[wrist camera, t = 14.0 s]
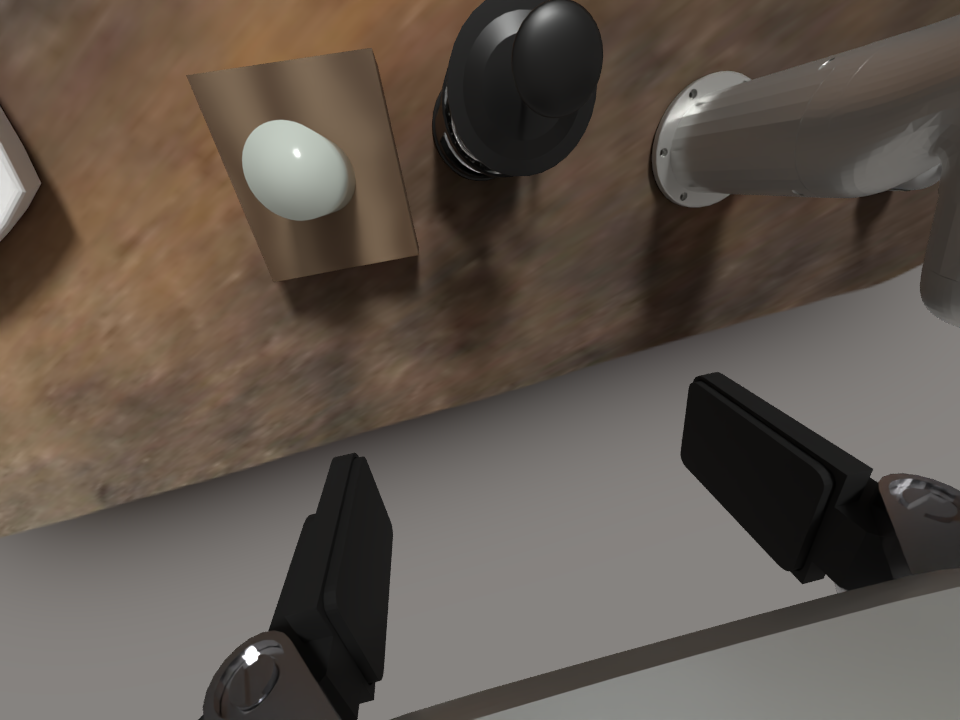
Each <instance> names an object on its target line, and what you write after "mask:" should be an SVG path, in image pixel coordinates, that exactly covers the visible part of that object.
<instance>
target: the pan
mask: <svg viewBox="0 0 960 720" xmlns="http://www.w3.org/2000/svg"><path fill="white" fill-rule="evenodd" d="M40 185H41V182H40V179H39V177H38V175H37V173H36V171H35V169H34V167H33V165H32V163H31V161H30V159H29V157H28V154H27V152H26V150H25V148H24V146H23V144H22V143H21V141H20V139H19V137H18V136H17V134H16V132H15V131H14V129H13V127H12V126H11V124H10V122H9V120H8V119H7V117H6V115H5V114H4V112H3V110H2V108H1V107H0V241H1V240H2V239H3V238H4V237H5V236H6V235H7V234H8V233H9V232H10V230H11V229H12V228H13V226H14V225H15V224H16V223H17V221H18V220H19V219H20V218H21V216H22V215H23V214H24V212H25V211H26V210H27V209H28V207H29V205H30V203H31V201H32V199H33V198H34V196H35V194H36V192H37V190H38V188H39V186H40Z"/></svg>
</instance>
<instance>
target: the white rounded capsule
mask: <svg viewBox="0 0 960 720" xmlns="http://www.w3.org/2000/svg"><path fill="white" fill-rule="evenodd" d="M242 166H243V172H244V175H245V179H246V181H247V183H248V186H249V187H250V189H251V191H252V192H253V194H254V195H255V197H256V198H257V199H258V200H259V201H260V202H261V203H262V204H263V205H264V206H265V207H266V208H268V209H269V210H270V211H272V212H273V213H275V214H277V215H279V216H281V217H284V218H287V219H291V220H297V221H304V220H311V219H315V218H318V217H321V216H324V215H327V214H330V213H333V212H336V211H339V210H341V209H342V208H344V207H345V206H346V205H347V204H348V203H349V201H350V200H351V198H352V196H353V194H354V191H355V183H356V180H355V172H354V169H353V166H352V164H351V161H350V160H349V158H348V156H347V155H346V154H345V152H344V151H343V150H342V149H341V148H340V147H339V146H338V145H336V144H335V143H333V142H332V141H330V140H328V139H327V138H325V137H323V136H321V135H320V134H318V133H316V132H314V131H313V130H311V129H309V128H307V127H305V126H304V125H302V124H299V123H296V122H293V121H289V120H274V121H269V122H266V123H263V124H262V125H260V126H258V127H257V128H256V129H255V130H253V132H252V133H251V134H250V135H249V137H248V138H247V140H246V143H245V145H244V149H243V154H242Z"/></svg>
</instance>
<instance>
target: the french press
mask: <svg viewBox="0 0 960 720" xmlns="http://www.w3.org/2000/svg"><path fill="white" fill-rule="evenodd" d="M602 62H603V45H602V40H601V35H600V32H599V29H598V27H597V24H596V22H595V21H594V19H593V17H592V16H591V14H590V13H589V12H588V11H587V10H586V9H585V8H584V7H583V6H581V5H580V4H578V3H576V2H574V1H571V0H485V1H484V2H483V3H482V4H481V5H480V6H479V7H477V8H476V9H475V10H474V11H473V12H472V14H471V15H470V16H469V18H468V19H467V21H466V22H465V23H464V25H463V26H462V28H461V30H460V32H459V34H458V36H457V39H456V41H455V43H454V46H453V50H452V53H451V57H450V61H449V65H448V68H447V72H446V76H445V79H444V83H443V87H442V90H441V92H440V94H439V96H438V98H437V100H436V103H435V107H434V111H433V119H432V128H433V136H434V140H435V144H436V147H437V149H438V152H439V154H440V156H441V157H442V159H443V160H444V162H445V163H446V164H447V165H448V166H449V167H450V168H451V169H452V170H453V171H454V172H456V173H457V174H458V175H460V176H462V177H464V178H467V179H470V180H476V181H486V180H490V179H494V178H497V177H513V176H530V175H534V174H538V173H542V172H544V171H546V170H548V169H550V168H552V167H554V166H555V165H557V164H558V163H559V162H561V161H562V160H563V159H564V158H566V157H567V156H568V154H569V153H570V152H571V151H572V150H573V149H574V148H575V147H576V145H577V144H578V142H579V141H580V139H581V137H582V136H583V134H584V132H585V130H586V128H587V126H588V123H589V121H590V118H591V116H592V112H593V108H594V104H595V99H596V89H597V83H598V80H599V77H600V73H601V69H602Z"/></svg>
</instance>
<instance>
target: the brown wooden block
mask: <svg viewBox="0 0 960 720" xmlns="http://www.w3.org/2000/svg"><path fill="white" fill-rule="evenodd" d="M186 76H187V78H188V80H189V83H190V85H191V87H192V90H193V92H194V95H195V97H196V99H197V102H198V104H199V106H200V109H201V111H202V114H203V116H204V118H205V121H206V123H207V125H208V128H209V130H210V133H211V135H212V137H213V140H214V142H215V144H216V147H217V149H218V151H219V154H220V156H221V159H222V161H223V163H224V166H225V168H226V170H227V173H228V175H229V178H230V180H231V182H232V185H233V187H234V189H235V192H236V194H237V197H238V199H239V201H240V204H241V206H242V208H243V211H244V213H245V216H246V218H247V220H248V223H249V225H250V227H251V230H252V232H253V235H254V237H255V239H256V242H257V244H258V246H259V249H260V251H261V253H262V256H263V258H264V261H265V263H266V265H267V268H268V270H269V272H270V275H271V277H272V280H273V282H278V281H283V280H288V279H294V278H299V277H304V276H309V275H315V274H320V273H325V272H331V271H336V270H341V269H347V268H352V267H357V266H362V265H368V264H373V263H378V262H384V261H389V260H394V259H400V258H405V257H410V256H415V255H419V247H418V242H417V238H416V233H415V229H414V224H413V220H412V216H411V211H410V207H409V202H408V198H407V194H406V189H405V185H404V180H403V176H402V171H401V167H400V163H399V158H398V154H397V149H396V145H395V140H394V136H393V132H392V127H391V123H390V118H389V114H388V109H387V105H386V101H385V96H384V92H383V87H382V83H381V78H380V74H379V70H378V65H377V62H376V60H375V57H374V54H373V51H372V48H368V49H361V50H354V51H348V52H341V53H334V54H327V55H321V56H314V57H307V58H300V59H294V60H287V61H280V62H273V63H267V64H260V65H253V66H247V67H240V68H233V69H226V70H220V71H213V72H206V73H199V74H193V75H186ZM274 120H289V121H293V122H296V123H299V124H302V125H304V126H305V127H307V128H309V129H311V130H313V131H314V132H316V133H318V134H320V135H321V136H323V137H325V138H327V139H328V140H330V141H332V142H333V143H335V144H336V145H338V146H339V147H340V148H341V149H342V150H343V151H344V152H345V154H346V155H347V156H348V158H349V160H350V161H351V164H352V166H353V169H354V172H355V180H356V183H355V191H354V194H353V196H352V198H351V200H350V201H349V203H348V204H347V205H346V206H345V207H344V208H342V209H341V210H339V211H336V212H333V213H330V214H327V215H324V216H321V217H318V218H315V219H311V220H304V221H297V220H291V219H287V218H284V217H281V216H279V215H277V214H275V213H273V212H272V211H270V210H269V209H268V208H266V207H265V206H264V205H263V204H262V203H261V202H260V201H259V200H258V199H257V198H256V197H255V195H254V194H253V192H252V191H251V189H250V187H249V186H248V183H247V181H246V179H245V175H244V172H243V166H242V154H243V149H244V145H245V143H246V140H247V138H248V137H249V135H250V134H251V133H252V132H253V130H255V129H256V128H257V127H258V126H260V125H262V124H263V123H266V122H269V121H274Z"/></svg>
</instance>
